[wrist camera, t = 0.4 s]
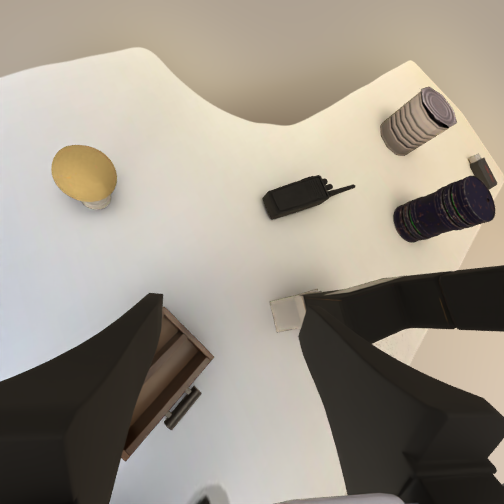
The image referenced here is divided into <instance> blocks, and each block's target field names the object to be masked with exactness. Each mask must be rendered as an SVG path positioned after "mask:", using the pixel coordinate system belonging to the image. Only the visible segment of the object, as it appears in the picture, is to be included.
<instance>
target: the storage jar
mask: <svg viewBox="0 0 504 504" xmlns="http://www.w3.org/2000/svg"><path fill="white" fill-rule="evenodd" d="M494 216H495V205H494V201H493V198H492V196H491V193H490V191H489V190H488V188H487V187H486V185H485V184H484V183H483V182H482V181H481V180H480V179H479V178H477V177H475V176H468V177H466V178H464V179H462V180H459V181H457V182H453V183H451V184H449V185H447V186H445V187H442V188H440V189H438V190H437V191H436V192H434V193H432V194H429V195H427V196H425V197H420V198H417V199H414V200H412V201H409V202H407V203H406V204H404V205H401V206H399V207H397V208H396V210H395V212H394V224H395V227H396V229H397V231H398V233H399V234H400V236H401V237H402V238H403V239H405V240H406V241H408V242H416V241H418V240H425V239H429V238H431V237H434V236H438V235H440V234H441V233H445V232H448V231H452V230H462V229H464V228H469V227H473V226H475V225H478V224H481V223H485V222H489V221H491V220H493V218H494Z"/></svg>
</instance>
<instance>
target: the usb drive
mask: <svg viewBox="0 0 504 504" xmlns="http://www.w3.org/2000/svg"><path fill="white" fill-rule="evenodd" d="M468 159H469V160H470V162H471V164H470V167H471V169H472V171H473V173H474V175H475V177H477V178H479V179H480V180H481V181H482V182H483V183H484V184H485V185H486V187H487V188H488V190H489V189H491V188H492V187H494V186H496V185H497V182H496V180H495V178H494V176H493V174H492V172H491V170H490V168H489V166H488V164H487V163H486V161H485V158H482V159H481V157H480V155H479V154H476V155H474V156H472V157H470V158H468Z"/></svg>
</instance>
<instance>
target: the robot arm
mask: <svg viewBox="0 0 504 504" xmlns="http://www.w3.org/2000/svg"><path fill="white" fill-rule="evenodd" d="M162 307H163V294H156V293H149V294H147V295H146V296H145V297H144V298H143V299H142V300H140V301H139V302H138V303H137V304H136V305H135V306H133V307H132V308H131V309H130V310H129V311H127V312H126V313H125V314H124V315H123V316H121V317H120V318H119V319H117V320H116V321H115V322H113V323H112V324H111V325H109V326H108V327H107V328H105V329H104V330H102V331H101V332H99V333H98V334H96V335H95V336H93V337H92V338H90V339H88V340H87V341H85V342H83V343H82V344H80V345H78V346H77V347H75V348H73V349H71V350H69V351H67V352H65V353H63V354H61V355H59V356H57V357H56V358H54V359H52V360H50V361H48V362H45V363H43V364H41V365H39V366H37V367H35V368H32V369H30V370H28V371H25V372H23V373H21V374H18V375H16V376H14V377H11V378H9V379H6V380H4V381H1V382H0V504H109V502H110V498H111V494H112V491H113V487H114V483H115V479H116V475H117V471H118V467H119V463H120V460H121V456H122V452H123V449H124V445H125V441H126V437H127V434H128V430H129V427H130V423H131V419H132V416H133V412H134V409H135V406H136V403H137V400H138V397H139V394H140V391H141V389H142V386H143V384H144V381H145V378H146V376H147V373H148V371H149V368H150V365H151V363H152V360H153V357H154V355H155V352H156V349H157V346H158V342H159V338H160V333H161V329H162ZM298 337H299V341H300V345H301V349H302V352H303V356H304V358H305V361H306V363H307V366H308V368H309V371H310V373H311V375H312V378H313V380H314V383H315V385H316V387H317V390H318V392H319V394H320V397H321V400H322V402H323V405H324V408H325V411H326V414H327V418H328V421H329V424H330V428H331V431H332V435H333V438H334V442H335V445H336V449H337V453H338V457H339V461H340V465H341V469H342V473H343V477H344V481H345V485H346V490H347V494H348V495H347V496H334V497H321V498H308V499H296V500H289V501H285V502H280V503H275V504H504V484H502V485H501V483H500V482H499V481H498V480H497V479H496V478H495V477H494V475H493V474H495V473H496V471H497V470H496V468H495V466H494V465H493V464H492V463H491V462H490V461H489V459H488V456H489V455H490V454H491V453H492V452H493V451H494V449H495V448H496V447H497V446H498V445H499V443H500V442H501V441H502V439H503V438H504V417H503V416H502V415H501V414H500V413H499V412H498V411H497V410H496V409H495V408H494V407H493V406H492V405H490V403H488V402H487V401H486V400H485V399H484V398H482V397H479V396H477V395H474V394H471V393H469V392H466V391H463V390H461V389H458V388H456V387H453V386H451V385H448V384H446V383H444V382H441V381H439V380H437V379H435V378H432V377H430V376H428V375H426V374H424V373H421V372H420V371H418V370H416V369H414V368H412V367H410V366H408V365H406V364H404V363H402V362H400V361H398V360H397V359H395V358H393V357H391V356H390V355H388V354H386V353H385V352H383V351H381V350H380V349H378V348H377V347H375V346H373V345H372V344H370V343H369V342H368V341H366V340H365V339H363V338H362V337H360V336H359V335H358V334H356V333H355V332H353V331H352V330H351V329H349V328H348V327H347V326H345V325H344V324H343V323H342V322H340V321H339V320H338V319H336V318H335V317H334V316H332V315H331V314H330V313H329V312H327V311H326V310H324V309H323V308H321V307H320V306H314V305H308V306H307V310H306V313H305V316H304V320H303V323H302V326H301V330H300V333H299V336H298Z"/></svg>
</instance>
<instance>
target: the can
mask: <svg viewBox="0 0 504 504" xmlns="http://www.w3.org/2000/svg"><path fill="white" fill-rule="evenodd" d="M456 123H457V121H456V117H455V113H454V110H453V108H452V107H451V106H450V105H449V103H448V102H447V101H446V99H445V98H444V97H443V95H441V94H440V93H438V92H437V91H435V90H434V89H432V88H430V87H425V88H423V89H421V92H419V93H418V94H417V95H416V96H414V97H413V98H412V99H411V100H410V101H408V102H407V103H406V104H405V105H403V106H402V107H401V108H400V109H399V110H397V111H396V112H395V113H394V114H393V115H391V116H390V117H389V118H388V119H386V120H385V121H384V122H383V123H382V124H381V137H382V138H383V140H384V142H385V144H386V146H387V147H388V148H389V149H390V150H391V151H392V152H394V153H395V154H396V155H403V156H405V155H407V154H408V153H410V152H411V151H413V150H415V149H416V148H418V147H419V146H421V145H423V144H424V143H426V142H427V141H429V140H431V139H432V138H434V137H436V136H437V135H439V134H440V133H442V132H444V131H445V130H447V129H448V128H449V127H451V126H453V125H454V124H456Z"/></svg>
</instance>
